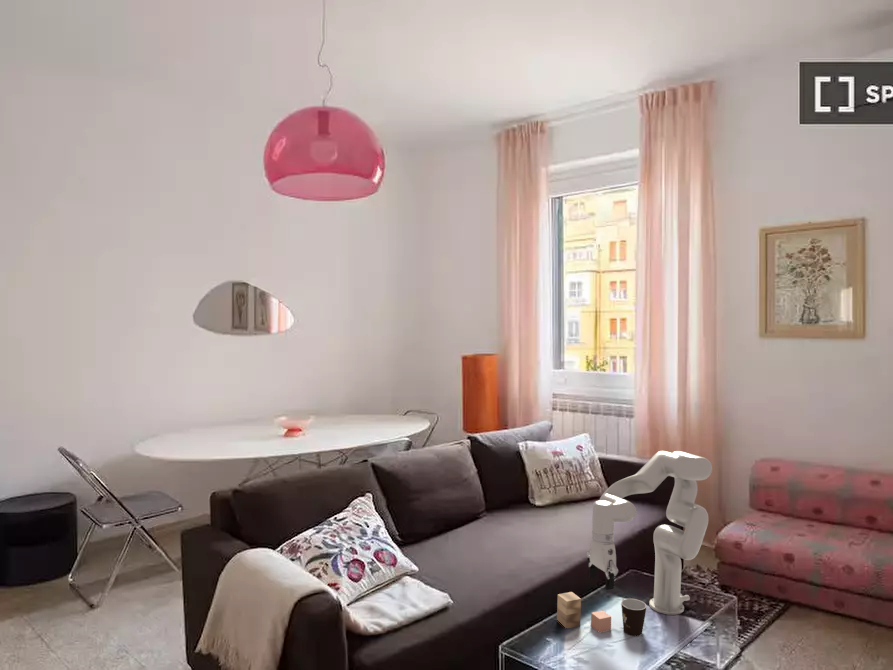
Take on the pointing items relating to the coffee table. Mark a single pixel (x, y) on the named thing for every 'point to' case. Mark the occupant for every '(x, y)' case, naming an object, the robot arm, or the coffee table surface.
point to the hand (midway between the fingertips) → (601, 583)
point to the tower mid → (569, 603)
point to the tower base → (568, 619)
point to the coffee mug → (633, 616)
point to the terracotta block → (600, 621)
